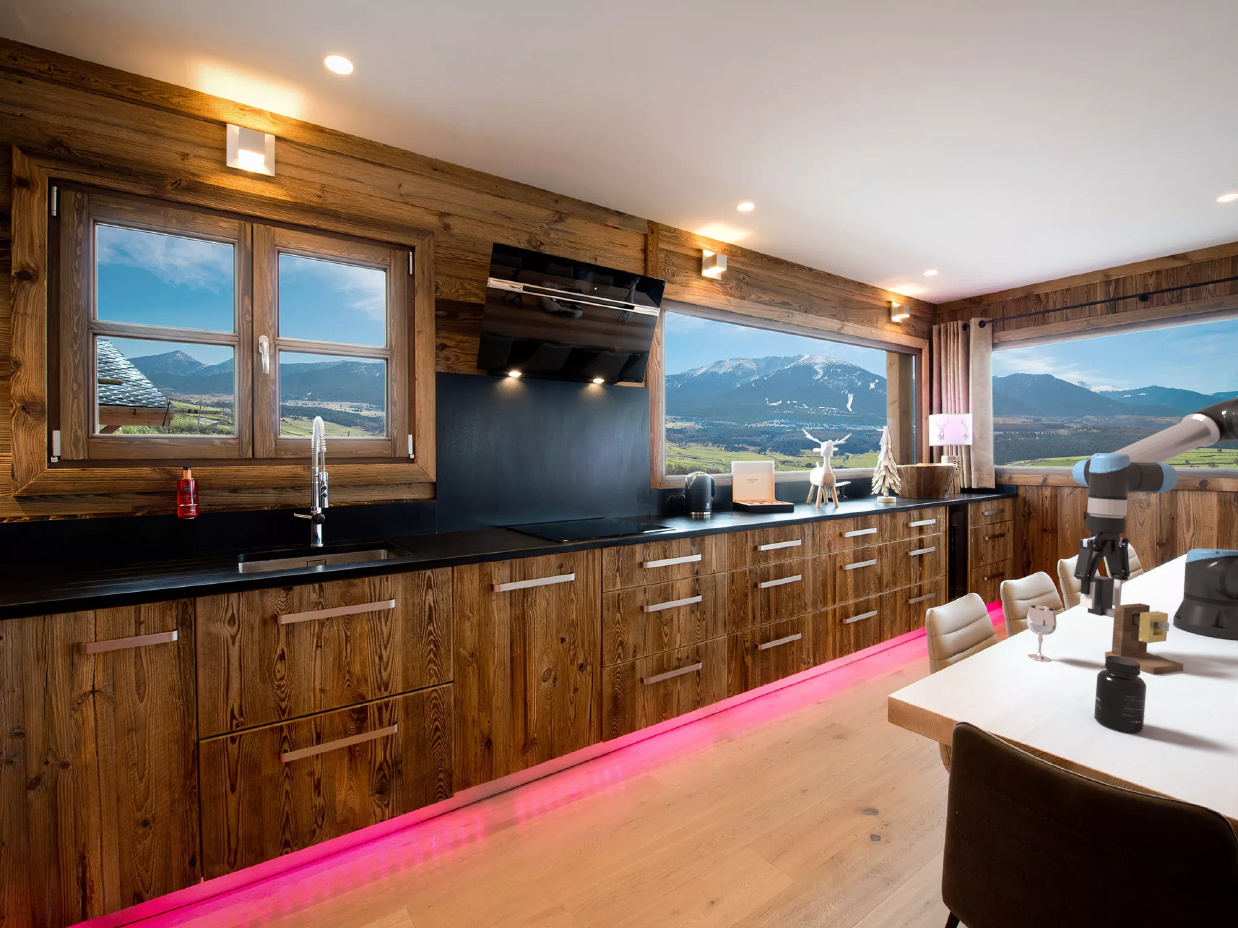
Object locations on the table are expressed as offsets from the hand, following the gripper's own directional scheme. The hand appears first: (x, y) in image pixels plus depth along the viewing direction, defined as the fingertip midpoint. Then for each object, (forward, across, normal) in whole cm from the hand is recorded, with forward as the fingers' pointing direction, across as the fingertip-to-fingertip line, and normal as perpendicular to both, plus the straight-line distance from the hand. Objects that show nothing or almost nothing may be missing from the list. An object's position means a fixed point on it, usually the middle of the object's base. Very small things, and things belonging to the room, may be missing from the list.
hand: (1100, 605), depth 148 cm
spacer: (+5, 0, +12) cm, 12 cm away
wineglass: (+11, +21, +1) cm, 24 cm away
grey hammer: (+2, 0, +6) cm, 7 cm away
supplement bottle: (+11, +40, +30) cm, 51 cm away
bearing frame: (+11, 0, +9) cm, 14 cm away
